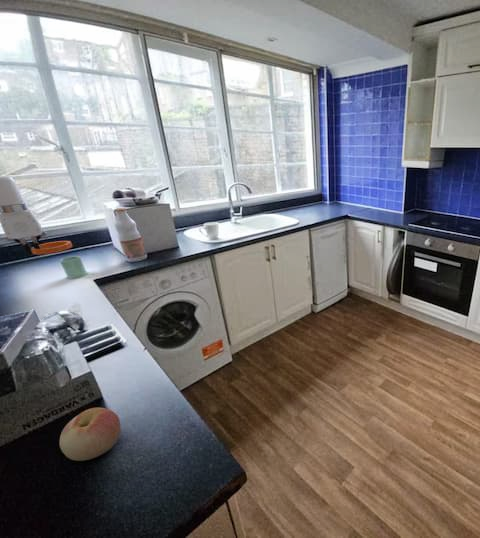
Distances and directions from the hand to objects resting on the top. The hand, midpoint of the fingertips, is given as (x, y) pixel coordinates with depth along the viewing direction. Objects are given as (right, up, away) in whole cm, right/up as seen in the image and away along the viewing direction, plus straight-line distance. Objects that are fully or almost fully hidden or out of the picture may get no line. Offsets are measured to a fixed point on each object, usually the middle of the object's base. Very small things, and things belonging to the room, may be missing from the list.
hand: (34, 252), depth 124 cm
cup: (0, -11, +19) cm, 21 cm away
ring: (+4, +1, +4) cm, 6 cm away
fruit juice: (+15, -2, +38) cm, 41 cm away
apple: (+85, -44, -64) cm, 115 cm away
